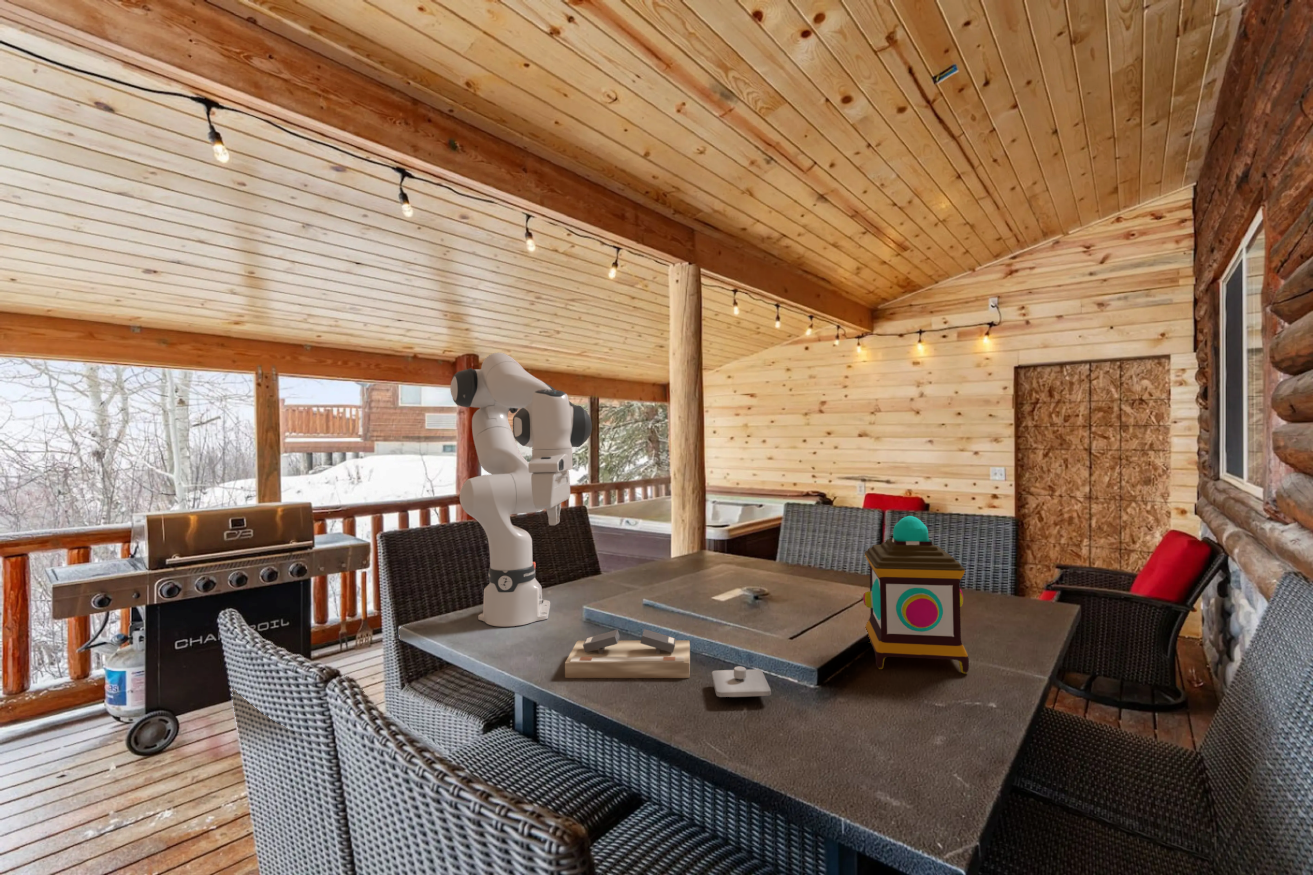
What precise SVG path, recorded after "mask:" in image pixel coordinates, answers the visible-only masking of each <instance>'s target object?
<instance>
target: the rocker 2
mask: <svg viewBox="0 0 1313 875" xmlns="http://www.w3.org/2000/svg"><path fill="white" fill-rule="evenodd" d="M675 640H677V639H676V638H675V637H672V636H670V635H666V634H664V633H663V634H662V633H659V632H656V631H652V630H649V629H646V628H643V632H642V635H641V642H640V643H641V644H645V645H648V646H651V647H655V648H658V649H661V650H665V651H668V652H672V653H673V651H674V647H675Z"/></svg>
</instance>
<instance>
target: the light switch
mask: <svg viewBox="0 0 1313 875" xmlns="http://www.w3.org/2000/svg"><path fill="white" fill-rule="evenodd" d="M711 679H712V683H713V688H714V691H715V695H716V697H719V698H726V697H727V698H728V697H729V698H752V697H769V696H771V695H772V690H771V687H770V684H769V683H768V681H767V678H766V676H765V674H764V673H763V670H762V669H757V668H756V669H754V668H753V669H747V668H746V667H744V666H741V665H740V666H739V665H738V666H735V667H734V668H733V669H724V670H723V669H721V670H718V669H717V670H713V671H711Z"/></svg>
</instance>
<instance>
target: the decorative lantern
mask: <svg viewBox="0 0 1313 875" xmlns="http://www.w3.org/2000/svg"><path fill="white" fill-rule="evenodd" d="M864 556H865V558H866V560H867V563H868V565H869V566H868V567H869V591H865V592H864V593H863V596H862V600H863V601H862V602H863V604H864V606H865V607H866V608H869V610H870V613H869V614H870V616H869V618H868V620H867V622H866V623H865V624H866V625H865V627H864V629H865V628H866V630H867V632H868V637H869V639H870V642H869V643H870V644H871V646H872V648H873V651H874V656H875V665H876V668H878V669H879V670H882V669H883V668H884V663H885V659H886V658H888V657H891V658H892V657H893V658H907V659H908V658H909V659H910V658H913V659H929V660H930V659H933V660H951V661H954V660H955V661H958V665H959V670H960V672H961V673H962V674H967V673H968V672H969V668H970V663H969V662H970V659H969V655H968V652H967V650H966V648H965V646H964V644H963V641H962V633H961V631H962V630H961V627H962V626H961V623H962V622H961V607H962V606H963V604H964V594H963V591H962V589H961V580H962V578H963V577H964V574H965V572H966V569H965V567H964V566H963V565H961V562H959V561H958V560H956V559H955V558H954V557H953V556H952V555H950V554H949V553H948V552H947V551H945V550H944V549H943V548H941V547H940V546H939V545H936V544H934V543H933V541H932V540H931V539H930V538H929V530H928V527H927V526H926V524H924V522H923V521H922V520H921V519H919V518H918V517H916V516H912V515H908V516H904V517H903V518H901V519H900V520H898V522H897V523H896V524H895V525H894V527H893V530H892V535H890V538H887V539H886V540H885V541H884V542H881V544H873V545H872V546H871V547H868V548H867V550H866V551H864Z"/></svg>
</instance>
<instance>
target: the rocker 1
mask: <svg viewBox="0 0 1313 875" xmlns="http://www.w3.org/2000/svg"><path fill="white" fill-rule="evenodd" d="M620 636H621V635H620V633H619V630H618V629H615V630H611V631H608V632H603V633H599V634H596V635H591V636H588V637H586V638H585V640H584V641H585V642H584V644H583V647H584V651H585V652H589V651H592V650H596V649H600V648H604V647H607V646H611V645H615V644H617V643H618V641H620Z"/></svg>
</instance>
